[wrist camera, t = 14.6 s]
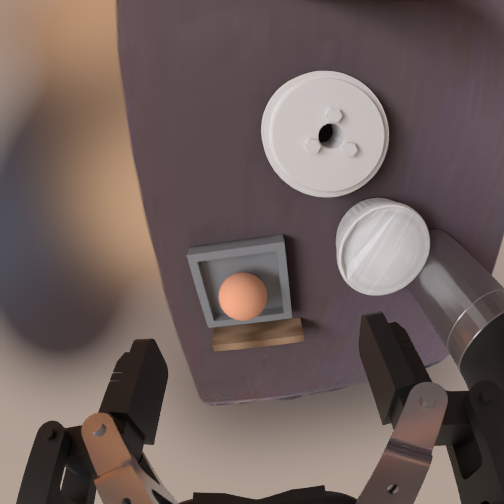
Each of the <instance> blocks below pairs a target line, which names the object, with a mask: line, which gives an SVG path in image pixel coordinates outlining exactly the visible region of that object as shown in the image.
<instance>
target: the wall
mask: <svg viewBox="0 0 504 504" xmlns="http://www.w3.org/2000/svg"><path fill="white" fill-rule="evenodd" d="M302 341H304V333H303V328H302V323H301V318H293V319H285V320H278V321H270V322H262V323H253V324H245V325H236V326H226V327H216V328H214V334H213V342H212V346H213V349H214V351H224V350H235V349H245V348H255V347H264V346H272V345H280V344H288V343H295V342H302Z"/></svg>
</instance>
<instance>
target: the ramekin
mask: <svg viewBox="0 0 504 504" xmlns="http://www.w3.org/2000/svg"><path fill="white" fill-rule="evenodd" d="M336 248H337V263H338V267H339V270H340V273H341V275H342V277H343V278H344V280H345V281H346V282H347V284H348V285H350V286H351V287H352V288H353V289H355V290H356V291H358V292H360V293H363V294H367V295H386V294H390V293H393V292H395V291H398V290H400V289H402V288H403V287H405V286H406V285H408V284H409V283H410V282H411V281H412V280H413V279H414V278H415V277H416V276H417V275H418V274H419V272H420V271H421V270H422V268H423V266H424V264H425V263H426V260H427V257H428V255H429V250H430V236H429V231H428V228H427V225H426V223H425V222H424V220H423V218H422V217H421V216H420V215H419V214H418V213H417V212H416V211H415V210H414V209H412V208H411V207H409V206H407V205H405V204H402V203H399V202H395V201H392V200H389V199H385V198H371V199H366V200H364V201H361V202H359V203H357V204H356V205H354V206H353V207H352V208H351V209H349V210H348V212H347V213H346V214H345V215H344V217H343V218H342V220H341V222H340V223H339V227H338V229H337V234H336Z"/></svg>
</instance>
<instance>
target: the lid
mask: <svg viewBox="0 0 504 504" xmlns="http://www.w3.org/2000/svg"><path fill="white" fill-rule="evenodd" d="M326 124H330V125H331V127H332V130H333V132H332V136H331V138H330V139H329V140H328V141H326V142H320V141H319V138H318V134H319V131H320V129H321V128H322V127H323V126H324V125H326ZM261 134H262V142H263V146H264V150H265V153H266V156H267V158H268V160H269V162H270V164H271V166H272V167H273V169H274V171H275V172H276V173H277V174H278V175H279V177H280V178H281V179H282V180H284V181H285V182H286V183H287V184H288V185H290V186H291V187H293V188H294V189H296V190H298V191H300V192H302V193H305V194H308V195H312V196H317V197H337V196H341V195H345V194H348V193H351V192H353V191H355V190H357V189H359V188H360V187H362V186H363V185H364V184H366V183H367V182H368V181H369V180H370V179H371V178H372V177H373V176H374V175H375V174H376V172H377V171H378V170H379V168H380V166H381V165H382V163H383V160H384V158H385V156H386V152H387V149H388V142H389V128H388V122H387V118H386V114H385V112H384V110H383V107H382V105H381V104H380V102H379V100H378V99H377V97H376V96H375V95H374V94H373V92H372V91H371V90H370V89H369V88H368V87H366V86H365V85H364V84H363V83H361V82H360V81H358V80H357V79H355V78H353V77H351V76H348V75H346V74H343V73H339V72H334V71H315V72H310V73H306V74H303V75H300V76H298V77H296V78H294V79H292V80H290V81H288V82H287V83H285V84H284V85H282V86H281V87H280V88H279V89H278V90H277V91H276V92H275V93H274V95H273V96H272V97H271V99H270V100H269V102H268V104H267V106H266V109H265V111H264V114H263V119H262V126H261Z"/></svg>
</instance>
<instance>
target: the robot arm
mask: <svg viewBox="0 0 504 504" xmlns="http://www.w3.org/2000/svg"><path fill="white" fill-rule="evenodd" d="M428 231H429V236H430V250H429V255H428V257H427V260H426V263H425V264H424V266H423V268H422V270H421V271H420V272H419V274H418V275H417V276H416V277H415V278H414V279H413V280H412V281H411V282H410V283H409V284H408V285H406V286H407V287H408V289H409V290H410V292H411V293H412V295H413V296H414V298H415V299H416V301H417V302H418V304H419V305H420V307H421V308H422V310H423V311H424V313H425V314H426V316H427V318H428V319H429V321H430V322H431V324H432V325H433V327H434V329H435V330H436V332H437V333H438V335H439V337H440V338H441V340H442V342H443V343H444V345H445V347H446V348H447V350H448V351H449V353H450V355H451V356H452V358H453V359H454V362H455V363H456V365H457V367H458V369H459V370H460V372H461V374H462V376H463V378H464V380H465V382H466V384H467V386H468V389H469V391H446V390H444V389H443V387H441V386H440V385H438V384H436V383H433V382H432V381H431V379H430V377H429V375H428V373H427V371H426V369H425V367H424V365H423V363H422V361H421V359H420V357H419V355H418V353H417V351H416V350H415V347H414V345H413V343H412V342H411V339H410V338H409V336H408V334H407V332H406V330H405V329H404V328H403V327H401V326H400V325H399V324H398V323H396V322H393V323H388V322H387V320H386V318H385V316H384V314H383V313H382V312H381V311H379V312H374V313H369V314H363V315H362V317H361V326H360V336H359V352H360V357H361V360H362V363H363V366H364V369H365V372H366V375H367V378H368V381H369V384H370V387H371V389H372V393H373V396H374V399H375V402H376V405H377V408H378V411H379V414H380V418H381V421H382V424H383V425H385V424H389V423H392V426H393V429H394V431H393V433H392V436H391V438H390V440H389V442H388V444H387V446H386V448H385V450H384V452H383V454H382V456H381V458H380V460H379V462H378V464H377V466H376V468H375V470H374V471H373V473H372V475H371V477H370V479H369V480H368V482H367V484H366V486H365V488H364V489H363V491H362V493H361V495H360V496H359V498H358V499H355V498H354V497H351V496H349V495H346V494H342V493H338V492H332V491H325V487H324V485H322V486H316V487H309V488H301V489H293V490H289V491H286V492H283V493H280V494H277V495H273V496H270V497H266V498H263V499H257V500H256V499H249V498H244V497H239V496H234V495H230V494H225V493H195V492H194V493H193V499H190V500H186V501H183V502H181V503H178V502H177V501H176V499H175V498H174V497H173V496H172V495H171V494H170V493H169V491H168V490H167V489H166V488H165V487H164V485H163V483H162V482H161V481H160V479H159V477H158V476H157V474H156V472H155V471H154V469H153V468H152V466H151V464H150V463H149V461H148V459H147V458H146V456H145V454H144V453H143V451H142V450H143V445H144V444H149V445H154V440H155V436H156V430H157V426H158V421H159V416H160V412H161V407H162V402H163V398H164V393H165V389H166V384H167V380H168V368H167V365H166V362H165V360H164V358H163V356H162V354H161V352H160V350H159V348H158V345H157V343H156V341H155V340H154V339H136V340H134V342H133V344H132V347H131V349H130V352H125V353H124V354H123V355H122V356H121V358H120V359H119V360H118V361H117V363H116V366H115V369H114V371H113V374H112V376H111V379H110V382H109V384H108V387H107V390H106V392H105V395H104V398H103V401H102V404H101V406H100V409H99V412H98V413H95V414H92V415H91V416H89V417H88V418H87V419H86V420H85V421H84V423H83V425H81V426H76V427H70V428H64V427H63V426H62V425H61V424H60V423H59V422H57V421H49V422H46V423H44V424H43V425H42V426H41V427H40V429H39V430H38V432H37V435H36V438H35V441H34V444H33V447H32V450H31V453H30V456H29V459H28V463H27V466H26V469H25V473H24V476H23V480H22V483H21V487H20V491H19V494H18V498H17V503H16V504H94V500H95V493H96V489H97V491H98V493H99V495H100V497H101V500H102V502H103V504H413V503H414V501H415V499H416V497H417V495H418V493H419V491H420V488H421V486H422V484H423V482H424V479H425V477H426V474H427V472H428V469H429V467H430V464H431V461H432V455H431V454H432V450H433V447H434V446H441V445H446V447H447V451H448V454H449V457H450V460H451V464H452V468H453V472H454V475H455V479H456V483H457V487H458V491H459V495H460V500H461V504H504V288H503V287H502V286H501V285H500V284H499V283H498V282H497V281H496V280H495V279H494V278H493V276H492V275H491V274H490V273H489V272H488V271H487V270H486V269H485V268H484V267H483V266H482V265H481V264H480V263H479V262H477V261H476V260H475V259H474V258H473V257H472V256H471V255H470V254H469V253H468V252H467V251H466V250H465V249H464V248H463V247H462V246H461V245H460V244H458V243H457V242H456V241H455V240H454V239H453V238H452V237H451V236H449V235H448V234H447V233H446V232H444V231H442V230H438V229H432V230H428ZM64 467H66V471H65V476H64V480H63V484H62V489H61V491H60V484H61V480H62V475H63V471H64Z"/></svg>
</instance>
